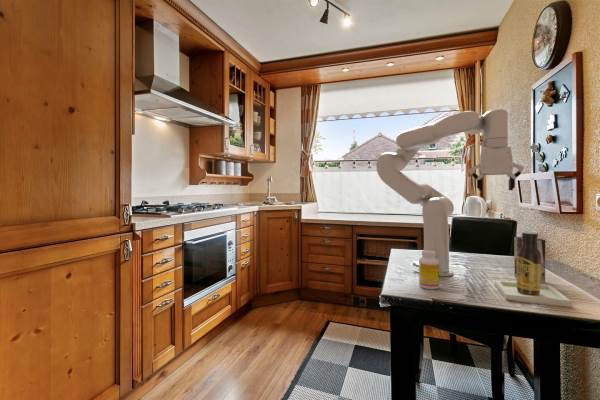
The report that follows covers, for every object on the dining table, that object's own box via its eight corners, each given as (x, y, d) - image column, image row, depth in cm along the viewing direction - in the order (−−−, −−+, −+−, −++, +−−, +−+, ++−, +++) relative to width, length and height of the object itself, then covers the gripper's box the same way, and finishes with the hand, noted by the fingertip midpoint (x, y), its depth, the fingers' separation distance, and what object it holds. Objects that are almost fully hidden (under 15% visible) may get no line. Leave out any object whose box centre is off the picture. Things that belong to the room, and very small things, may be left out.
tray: (505, 300, 94) (505, 294, 94) (495, 285, 108) (495, 280, 108) (570, 306, 88) (570, 300, 87) (550, 290, 102) (550, 284, 102)
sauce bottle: (511, 289, 101) (511, 231, 101) (530, 289, 101) (530, 231, 101) (526, 296, 95) (526, 233, 94) (546, 296, 95) (546, 233, 94)
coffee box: (546, 284, 108) (546, 240, 108) (526, 283, 110) (526, 239, 109) (532, 277, 117) (532, 236, 117) (513, 276, 119) (513, 236, 118)
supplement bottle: (441, 290, 104) (441, 253, 104) (421, 289, 105) (421, 253, 105) (436, 284, 111) (436, 249, 110) (417, 283, 112) (417, 249, 111)
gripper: (470, 144, 111) (470, 190, 112) (526, 141, 104) (526, 190, 105) (467, 147, 118) (467, 190, 119) (520, 144, 111) (520, 190, 112)
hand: (495, 190), depth 112 cm, fingers open, 9 cm apart
